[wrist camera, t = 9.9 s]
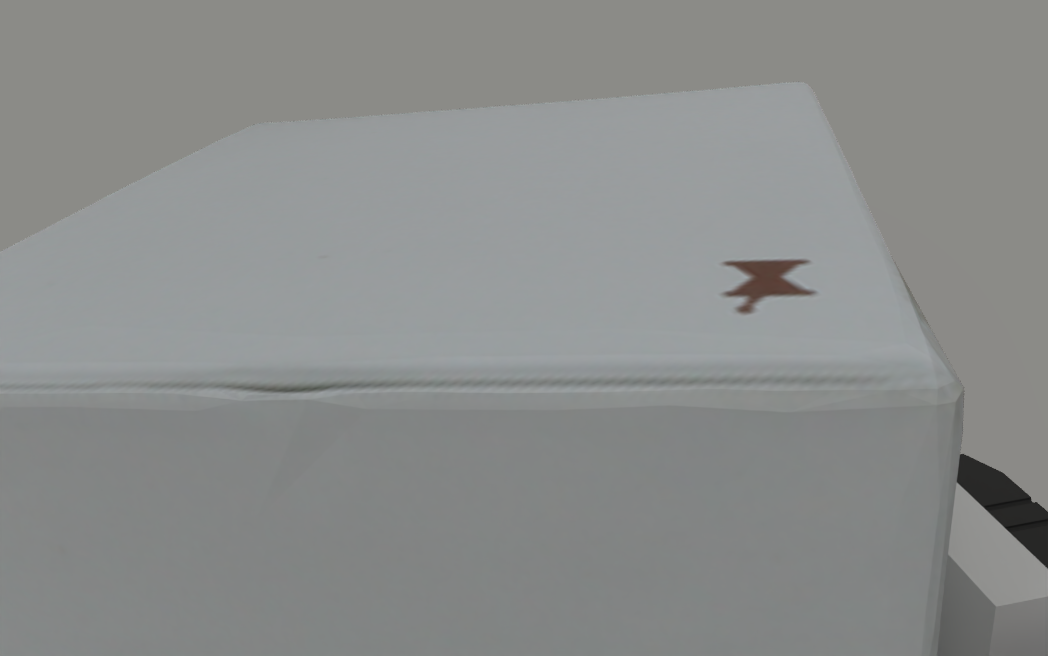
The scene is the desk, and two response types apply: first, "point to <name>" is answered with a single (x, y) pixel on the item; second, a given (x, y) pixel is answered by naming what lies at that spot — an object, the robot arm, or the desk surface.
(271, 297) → the supplement box
